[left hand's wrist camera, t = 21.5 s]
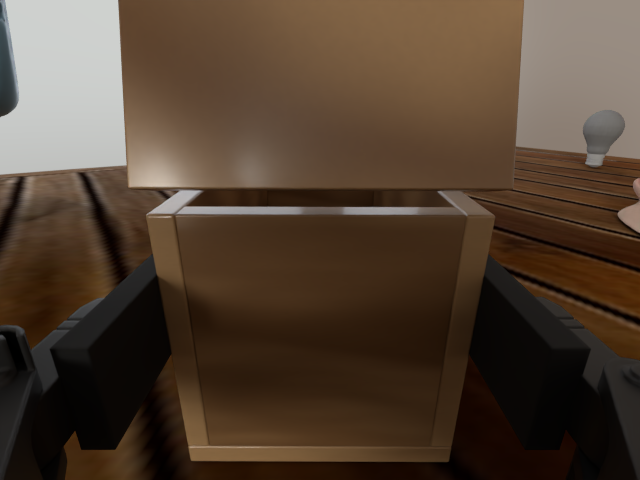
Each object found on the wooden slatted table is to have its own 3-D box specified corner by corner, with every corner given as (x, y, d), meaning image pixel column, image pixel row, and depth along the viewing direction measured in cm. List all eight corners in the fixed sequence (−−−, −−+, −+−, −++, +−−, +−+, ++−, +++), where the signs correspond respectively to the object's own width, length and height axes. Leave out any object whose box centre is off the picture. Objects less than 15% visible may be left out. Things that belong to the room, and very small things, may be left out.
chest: (262, 257, 29) (254, 137, 26) (378, 257, 29) (386, 137, 26) (190, 462, 13) (144, 214, 10) (449, 463, 13) (496, 215, 10)
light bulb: (582, 168, 67) (597, 110, 63) (568, 163, 72) (581, 109, 69) (619, 170, 66) (637, 110, 62) (603, 164, 71) (618, 109, 68)
